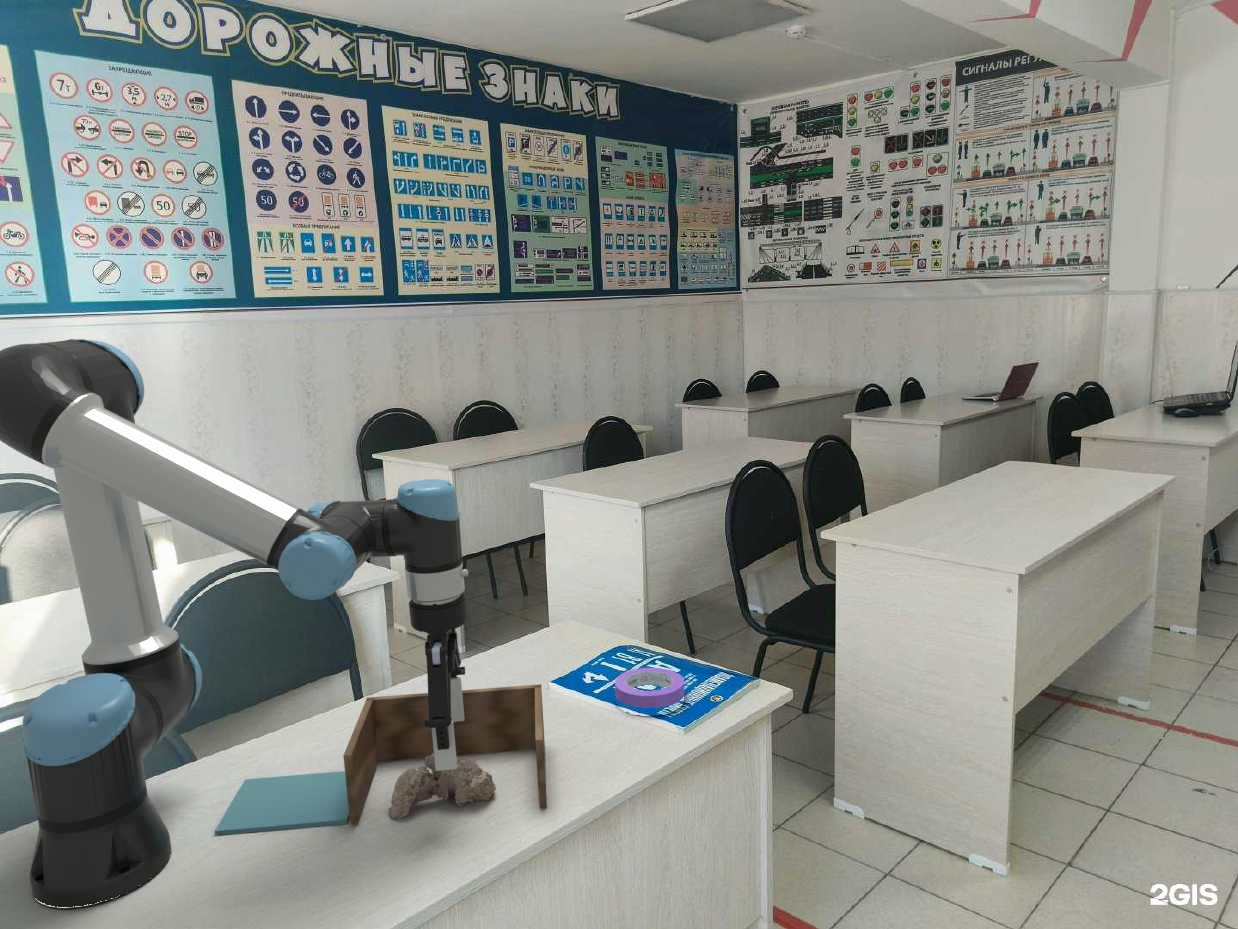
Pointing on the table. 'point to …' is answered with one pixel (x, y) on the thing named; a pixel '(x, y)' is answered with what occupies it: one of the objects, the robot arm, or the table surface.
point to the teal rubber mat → (287, 803)
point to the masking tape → (649, 677)
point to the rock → (440, 785)
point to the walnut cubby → (402, 735)
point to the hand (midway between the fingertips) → (451, 743)
